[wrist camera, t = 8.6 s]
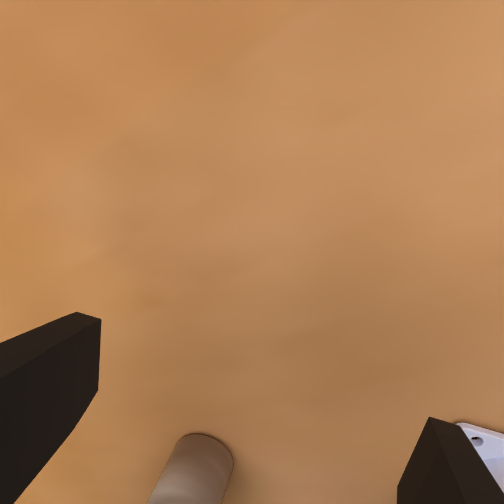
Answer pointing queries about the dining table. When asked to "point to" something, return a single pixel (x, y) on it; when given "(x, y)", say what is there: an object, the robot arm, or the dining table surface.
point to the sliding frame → (194, 473)
